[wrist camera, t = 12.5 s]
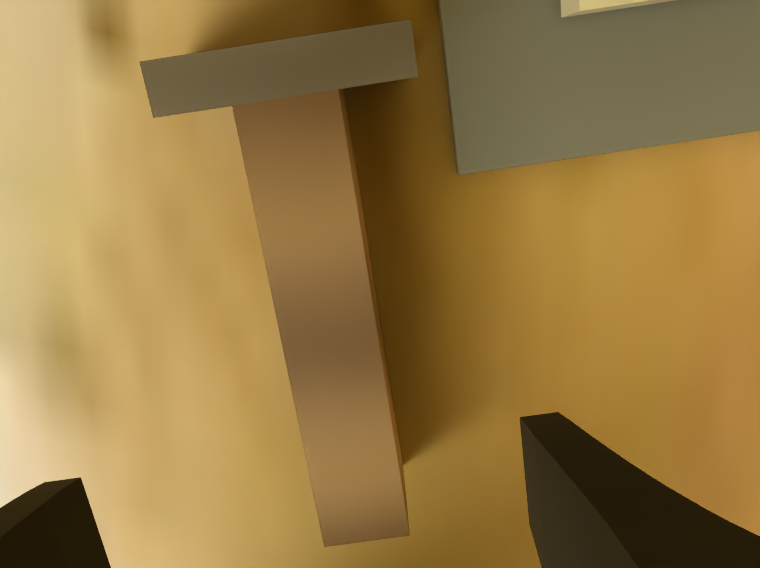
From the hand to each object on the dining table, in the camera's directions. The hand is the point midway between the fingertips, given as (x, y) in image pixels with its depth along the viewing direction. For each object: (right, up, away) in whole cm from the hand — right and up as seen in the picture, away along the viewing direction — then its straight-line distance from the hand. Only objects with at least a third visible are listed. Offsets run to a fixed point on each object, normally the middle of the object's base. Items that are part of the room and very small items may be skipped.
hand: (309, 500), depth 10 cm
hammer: (0, +4, +9) cm, 10 cm away
